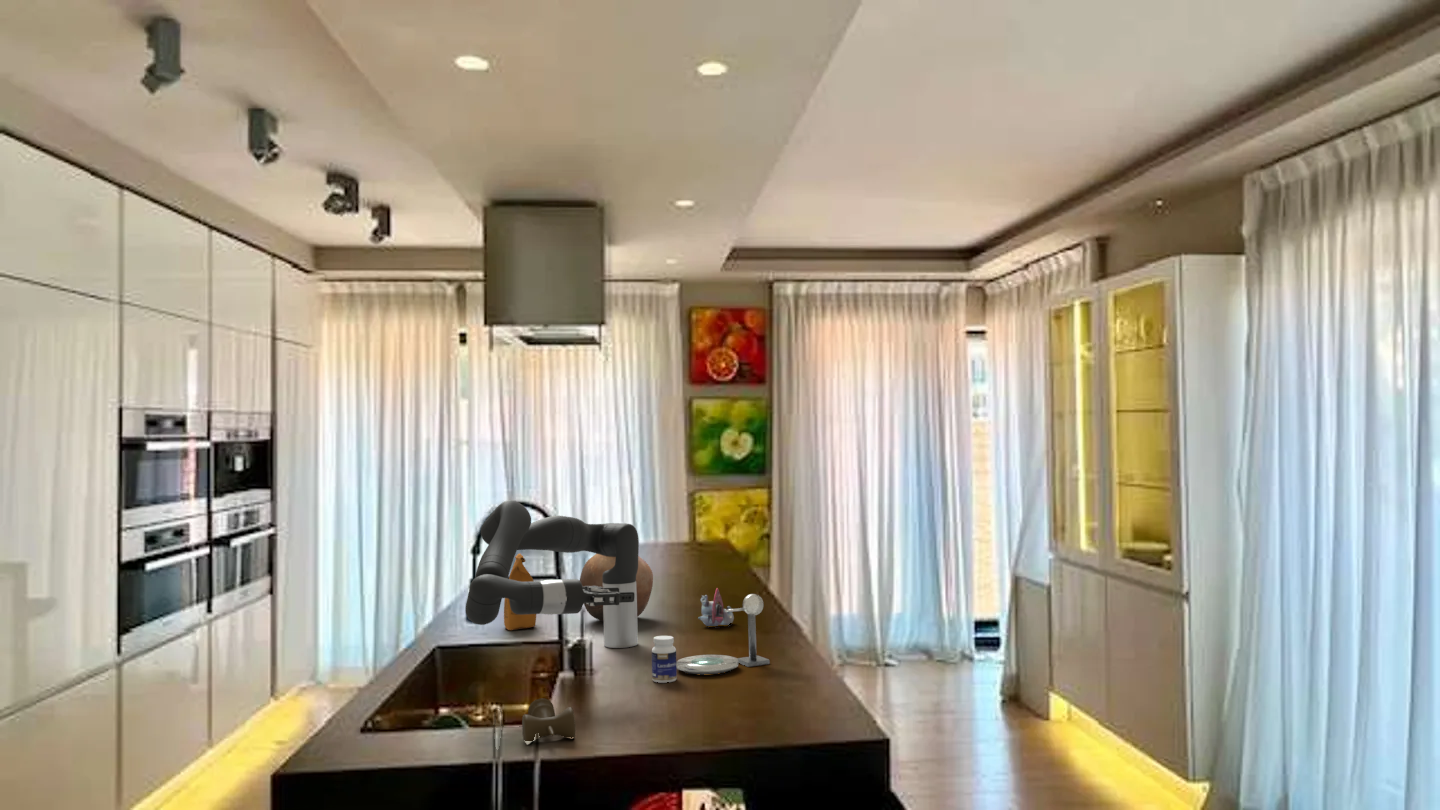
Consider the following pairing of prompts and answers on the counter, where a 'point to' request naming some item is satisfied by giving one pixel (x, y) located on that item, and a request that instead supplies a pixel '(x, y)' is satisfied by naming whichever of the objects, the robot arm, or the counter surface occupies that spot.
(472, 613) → the robot arm
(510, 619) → the coffee package
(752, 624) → the dial stand
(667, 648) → the pill bottle
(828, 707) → the counter surface
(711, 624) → the grey and red figurine
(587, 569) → the pottery
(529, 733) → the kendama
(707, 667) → the dish
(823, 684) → the counter surface
